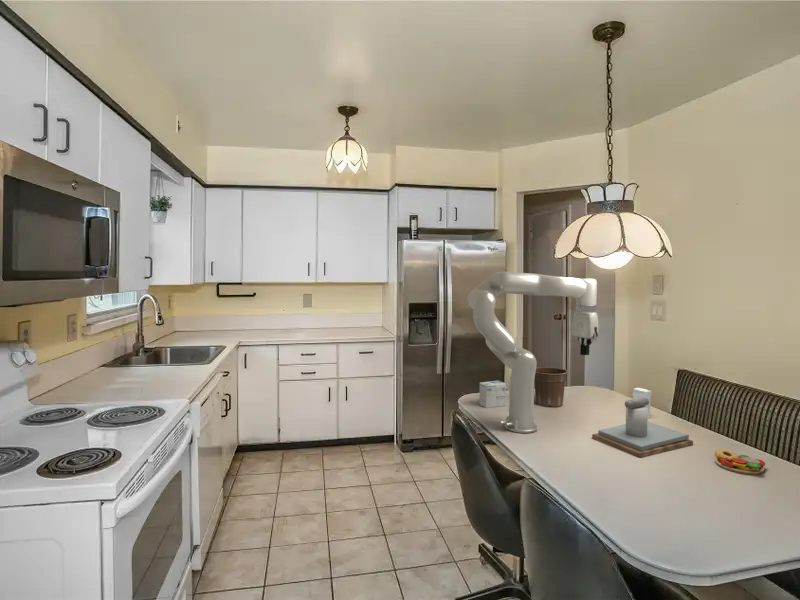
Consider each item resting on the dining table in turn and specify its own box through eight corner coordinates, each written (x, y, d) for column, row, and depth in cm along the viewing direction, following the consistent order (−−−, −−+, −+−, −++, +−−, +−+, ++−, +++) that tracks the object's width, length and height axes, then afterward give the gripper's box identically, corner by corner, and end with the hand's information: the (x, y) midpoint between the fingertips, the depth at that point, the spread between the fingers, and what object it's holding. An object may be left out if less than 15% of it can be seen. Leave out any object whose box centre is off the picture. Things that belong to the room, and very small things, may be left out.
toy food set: (714, 455, 156) (714, 446, 156) (763, 465, 149) (764, 455, 149) (714, 469, 146) (714, 459, 145) (767, 480, 138) (767, 469, 138)
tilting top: (641, 451, 155) (642, 409, 154) (598, 434, 172) (598, 396, 171) (688, 438, 166) (689, 399, 165) (643, 423, 182) (644, 388, 181)
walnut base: (639, 457, 154) (640, 453, 154) (592, 438, 172) (592, 434, 172) (692, 444, 166) (693, 440, 166) (642, 427, 184) (643, 424, 184)
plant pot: (524, 403, 218) (524, 369, 217) (543, 397, 229) (543, 365, 228) (555, 411, 206) (555, 375, 205) (573, 404, 217) (574, 370, 216)
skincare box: (631, 415, 199) (631, 388, 199) (637, 414, 202) (638, 387, 201) (644, 419, 194) (645, 391, 193) (650, 418, 196) (651, 390, 196)
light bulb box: (498, 402, 220) (498, 380, 219) (506, 406, 213) (506, 383, 213) (478, 404, 216) (478, 381, 215) (486, 408, 210) (486, 385, 209)
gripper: (564, 308, 189) (563, 352, 190) (594, 311, 175) (592, 358, 176) (578, 307, 192) (577, 351, 193) (608, 310, 178) (606, 357, 179)
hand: (584, 354), depth 184 cm, fingers closed
